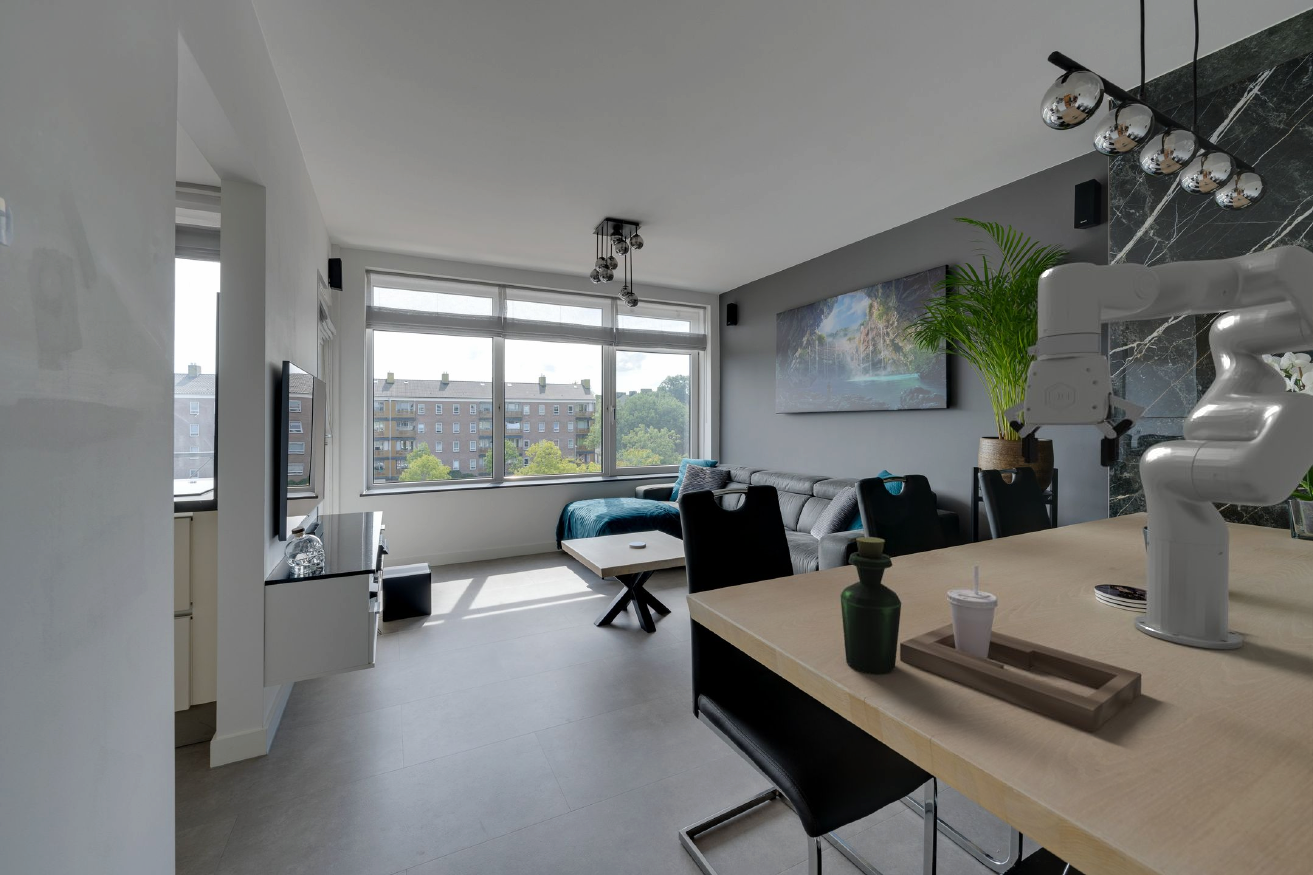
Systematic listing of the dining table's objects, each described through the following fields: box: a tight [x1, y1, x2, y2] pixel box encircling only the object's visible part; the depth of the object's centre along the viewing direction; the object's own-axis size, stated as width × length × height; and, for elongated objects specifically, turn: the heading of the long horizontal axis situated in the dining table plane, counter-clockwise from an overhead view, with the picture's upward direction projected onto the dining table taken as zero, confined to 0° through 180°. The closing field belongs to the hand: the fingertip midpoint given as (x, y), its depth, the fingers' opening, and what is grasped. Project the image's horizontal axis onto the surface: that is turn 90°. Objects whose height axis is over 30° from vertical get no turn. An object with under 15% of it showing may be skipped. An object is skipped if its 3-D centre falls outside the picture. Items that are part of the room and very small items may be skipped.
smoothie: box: [946, 564, 999, 660], centre depth 79 cm, size 6×6×14 cm
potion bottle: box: [840, 536, 902, 675], centre depth 78 cm, size 8×8×18 cm
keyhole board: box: [899, 622, 1142, 733], centre depth 74 cm, size 16×23×2 cm
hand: (1067, 464), depth 81 cm, fingers open, 9 cm apart
